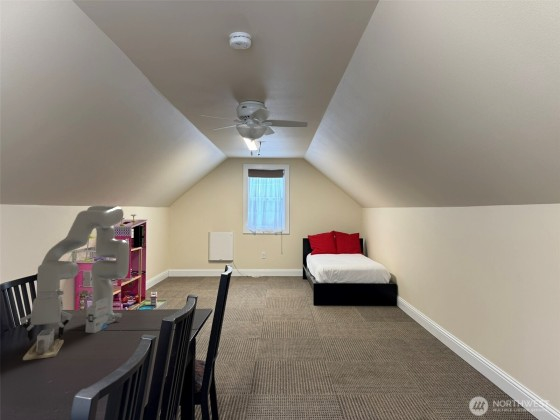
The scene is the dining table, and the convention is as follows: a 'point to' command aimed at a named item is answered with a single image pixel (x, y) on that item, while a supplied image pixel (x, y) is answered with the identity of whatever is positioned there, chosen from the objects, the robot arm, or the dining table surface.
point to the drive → (46, 339)
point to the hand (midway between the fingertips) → (45, 338)
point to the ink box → (97, 316)
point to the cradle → (40, 352)
